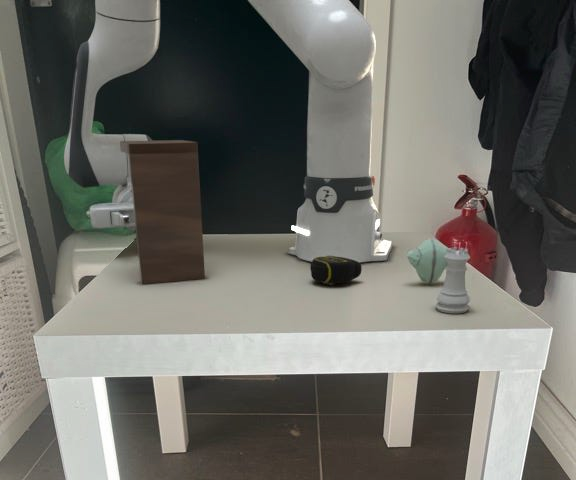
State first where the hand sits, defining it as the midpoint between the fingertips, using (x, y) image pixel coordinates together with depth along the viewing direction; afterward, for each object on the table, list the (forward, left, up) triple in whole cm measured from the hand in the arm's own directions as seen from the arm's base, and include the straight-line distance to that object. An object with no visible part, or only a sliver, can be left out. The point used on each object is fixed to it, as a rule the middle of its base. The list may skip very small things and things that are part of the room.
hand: (152, 219), depth 113 cm
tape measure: (+3, +35, -7) cm, 36 cm away
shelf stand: (+8, +8, -7) cm, 14 cm away
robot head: (-1, +49, -7) cm, 50 cm away
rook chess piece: (+12, +55, -7) cm, 57 cm away
